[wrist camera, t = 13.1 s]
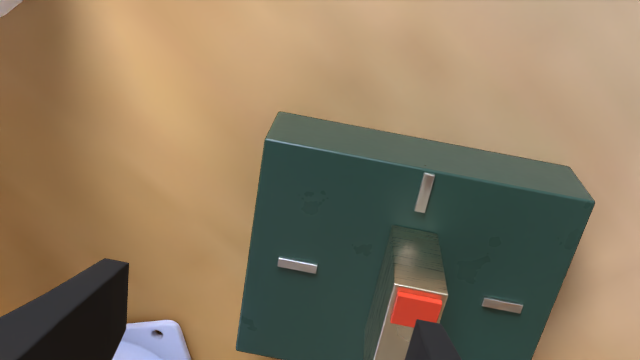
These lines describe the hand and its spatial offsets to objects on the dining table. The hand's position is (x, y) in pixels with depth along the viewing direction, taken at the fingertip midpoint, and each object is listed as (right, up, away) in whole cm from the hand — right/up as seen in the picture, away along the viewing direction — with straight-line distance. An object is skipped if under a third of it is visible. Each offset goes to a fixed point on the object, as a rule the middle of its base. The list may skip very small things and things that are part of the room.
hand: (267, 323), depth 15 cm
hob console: (+4, +1, +9) cm, 10 cm away
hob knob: (+4, 0, +7) cm, 8 cm away
